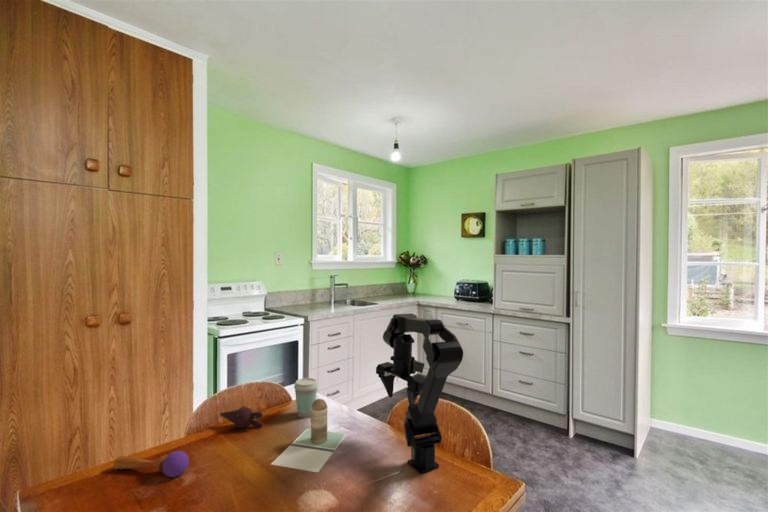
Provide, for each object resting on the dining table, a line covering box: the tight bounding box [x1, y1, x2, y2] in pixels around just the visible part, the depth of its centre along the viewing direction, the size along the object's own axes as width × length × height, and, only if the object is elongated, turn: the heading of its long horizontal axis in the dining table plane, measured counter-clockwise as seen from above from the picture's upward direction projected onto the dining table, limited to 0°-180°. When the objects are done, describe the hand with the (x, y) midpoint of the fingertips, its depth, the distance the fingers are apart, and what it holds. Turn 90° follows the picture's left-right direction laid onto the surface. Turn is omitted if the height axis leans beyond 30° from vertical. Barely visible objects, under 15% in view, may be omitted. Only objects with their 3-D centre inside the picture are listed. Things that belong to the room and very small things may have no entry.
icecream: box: [220, 405, 264, 429], centre depth 123 cm, size 7×7×15 cm
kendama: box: [113, 450, 190, 478], centre depth 97 cm, size 6×6×20 cm
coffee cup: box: [293, 377, 319, 419], centre depth 133 cm, size 8×8×12 cm
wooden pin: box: [310, 398, 328, 444], centre depth 114 cm, size 5×5×12 cm
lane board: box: [270, 428, 348, 473], centre depth 109 cm, size 22×14×1 cm, turn 165°
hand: (400, 402), depth 116 cm, fingers open, 9 cm apart
